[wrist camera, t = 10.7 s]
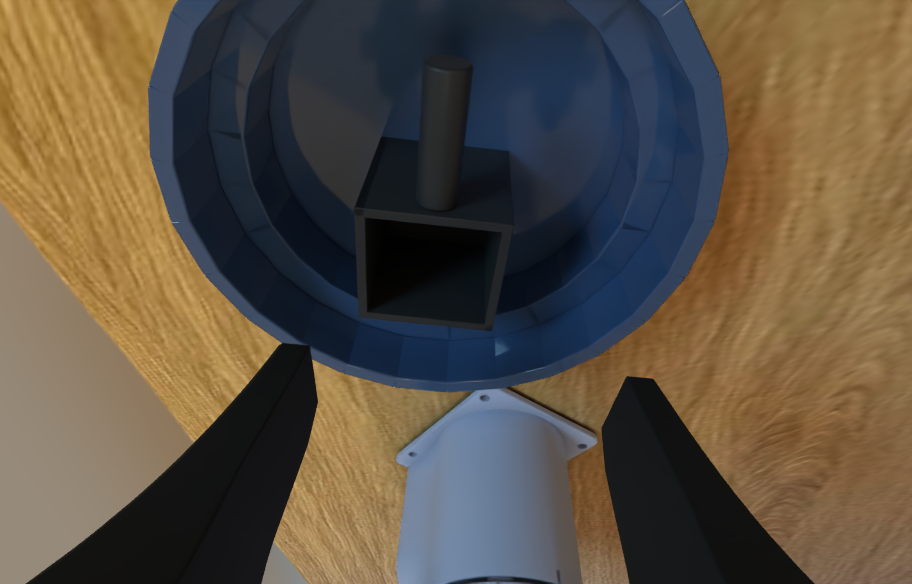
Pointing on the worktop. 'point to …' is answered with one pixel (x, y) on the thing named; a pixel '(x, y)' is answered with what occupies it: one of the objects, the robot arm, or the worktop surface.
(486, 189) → the scoop
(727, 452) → the worktop surface
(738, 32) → the worktop surface
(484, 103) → the bowl
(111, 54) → the worktop surface
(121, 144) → the worktop surface
